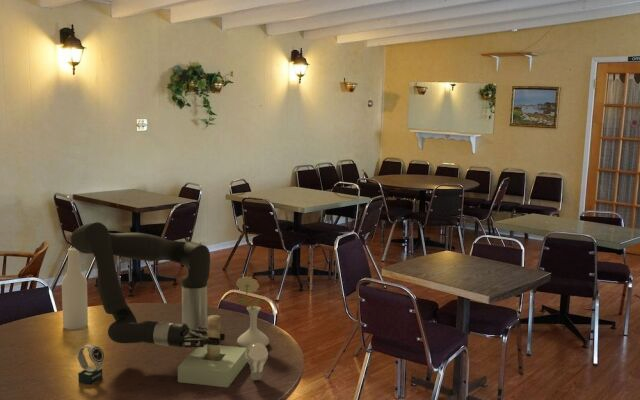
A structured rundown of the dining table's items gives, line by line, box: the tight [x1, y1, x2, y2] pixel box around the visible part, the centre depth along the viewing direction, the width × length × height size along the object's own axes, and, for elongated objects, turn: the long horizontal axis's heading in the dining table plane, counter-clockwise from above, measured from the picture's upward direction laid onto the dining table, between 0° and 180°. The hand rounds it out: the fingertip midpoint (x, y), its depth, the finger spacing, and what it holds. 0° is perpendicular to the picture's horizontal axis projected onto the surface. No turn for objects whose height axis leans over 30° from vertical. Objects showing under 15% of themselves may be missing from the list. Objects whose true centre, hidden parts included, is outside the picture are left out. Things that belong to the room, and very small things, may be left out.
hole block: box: [177, 344, 248, 388], centre depth 207 cm, size 20×16×5 cm
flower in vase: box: [235, 275, 270, 348], centre depth 229 cm, size 13×11×25 cm
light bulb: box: [246, 343, 269, 382], centre depth 201 cm, size 7×7×12 cm
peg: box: [207, 314, 221, 361], centre depth 206 cm, size 4×4×16 cm
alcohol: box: [61, 247, 89, 331], centre depth 243 cm, size 9×9×30 cm
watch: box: [77, 343, 105, 386], centre depth 198 cm, size 6×8×11 cm
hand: (222, 339), depth 205 cm, fingers closed on peg, 4 cm apart
